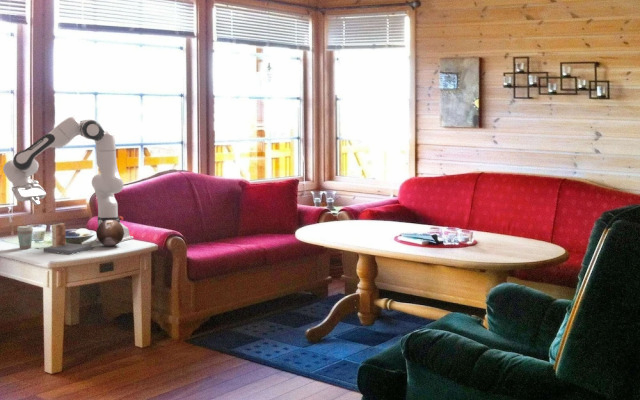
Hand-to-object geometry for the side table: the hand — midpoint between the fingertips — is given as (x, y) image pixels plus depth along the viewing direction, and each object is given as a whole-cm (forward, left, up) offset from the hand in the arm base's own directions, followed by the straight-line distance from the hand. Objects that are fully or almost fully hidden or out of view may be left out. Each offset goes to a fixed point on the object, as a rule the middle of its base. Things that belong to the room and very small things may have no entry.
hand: (38, 204), depth 449 cm
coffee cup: (+6, -5, -24) cm, 25 cm away
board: (-3, +19, -24) cm, 31 cm away
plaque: (-2, +13, -22) cm, 26 cm away
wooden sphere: (-26, +28, -24) cm, 45 cm away
